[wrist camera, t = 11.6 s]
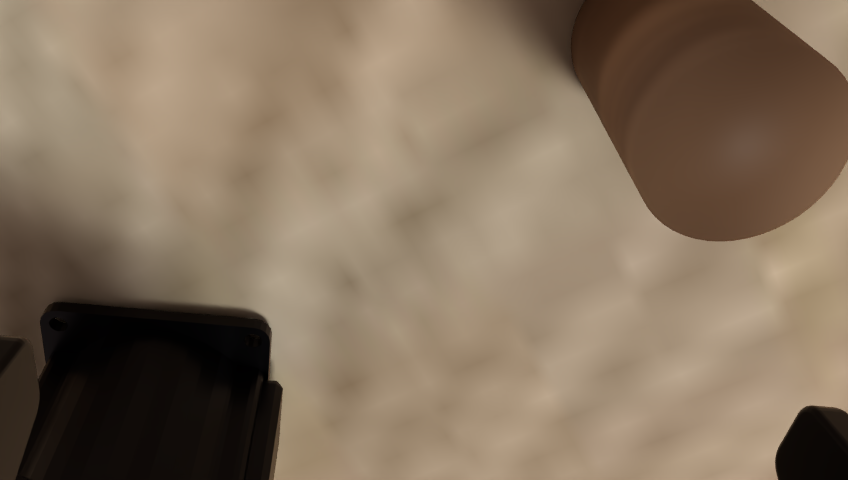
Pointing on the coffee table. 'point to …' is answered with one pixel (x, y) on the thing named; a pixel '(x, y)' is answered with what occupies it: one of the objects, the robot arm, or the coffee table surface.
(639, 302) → the coffee table surface
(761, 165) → the short walnut stub
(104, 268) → the coffee table surface
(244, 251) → the coffee table surface
